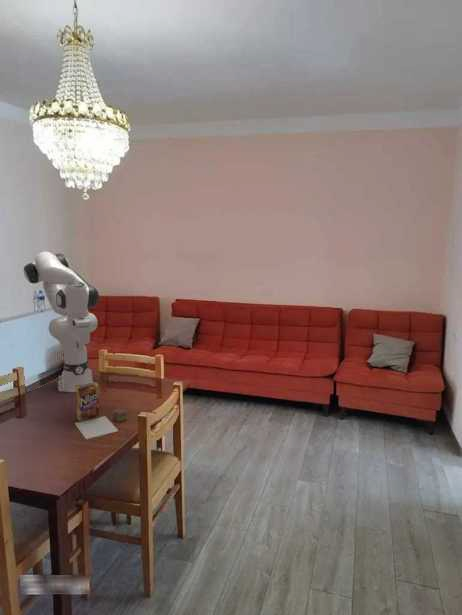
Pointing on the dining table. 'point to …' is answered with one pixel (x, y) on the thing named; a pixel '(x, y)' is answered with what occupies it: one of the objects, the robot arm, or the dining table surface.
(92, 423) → the mat
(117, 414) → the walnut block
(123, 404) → the dining table surface
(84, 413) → the candy box
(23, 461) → the dining table surface
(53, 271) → the robot arm
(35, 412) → the dining table surface
